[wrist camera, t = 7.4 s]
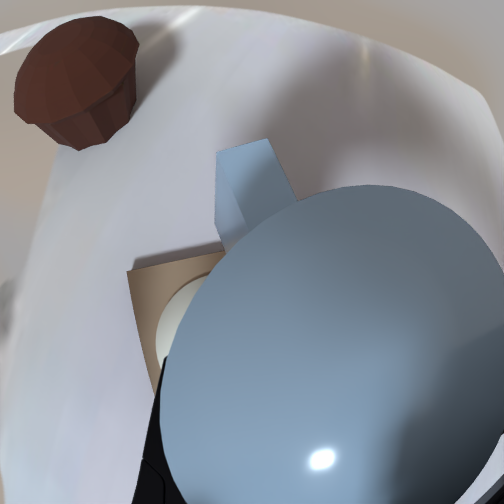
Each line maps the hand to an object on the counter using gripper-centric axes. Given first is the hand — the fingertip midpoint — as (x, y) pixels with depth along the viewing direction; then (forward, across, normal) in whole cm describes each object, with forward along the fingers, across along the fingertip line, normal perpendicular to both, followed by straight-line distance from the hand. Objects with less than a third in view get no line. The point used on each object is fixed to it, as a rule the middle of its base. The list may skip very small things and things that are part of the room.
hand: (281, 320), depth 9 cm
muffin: (+25, +7, -6) cm, 27 cm away
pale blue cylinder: (+4, 0, +5) cm, 6 cm away
